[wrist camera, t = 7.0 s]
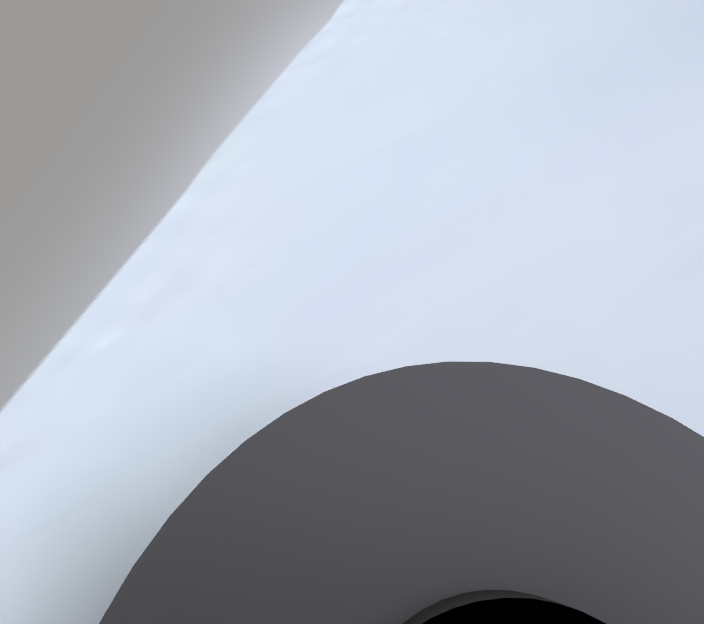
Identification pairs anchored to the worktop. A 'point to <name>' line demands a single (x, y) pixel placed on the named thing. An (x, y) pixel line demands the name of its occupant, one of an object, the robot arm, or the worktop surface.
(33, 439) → the worktop surface
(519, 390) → the plug
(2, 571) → the worktop surface
